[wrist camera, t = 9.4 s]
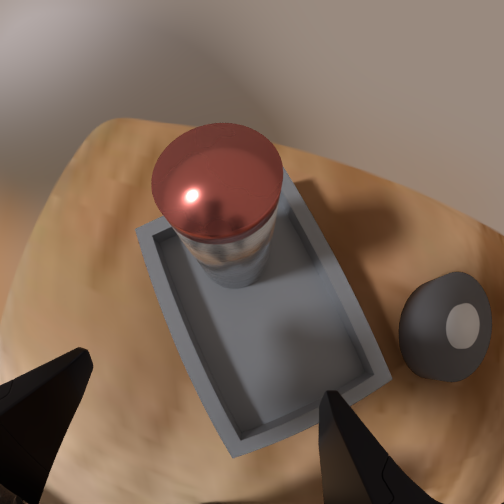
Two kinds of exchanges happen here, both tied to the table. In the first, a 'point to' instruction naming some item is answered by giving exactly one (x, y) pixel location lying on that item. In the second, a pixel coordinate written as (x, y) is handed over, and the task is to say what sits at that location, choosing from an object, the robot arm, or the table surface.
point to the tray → (266, 330)
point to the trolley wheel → (446, 328)
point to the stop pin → (221, 198)
